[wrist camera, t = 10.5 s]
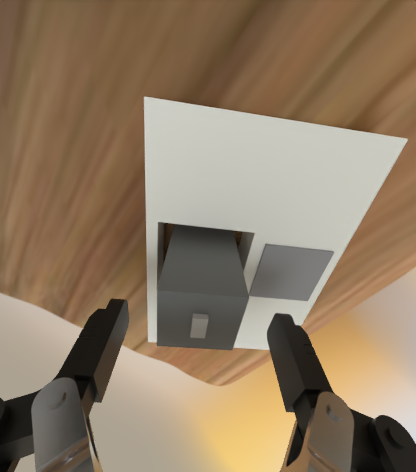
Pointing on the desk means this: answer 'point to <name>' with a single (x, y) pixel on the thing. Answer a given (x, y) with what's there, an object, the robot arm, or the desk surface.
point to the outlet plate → (260, 199)
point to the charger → (201, 290)
